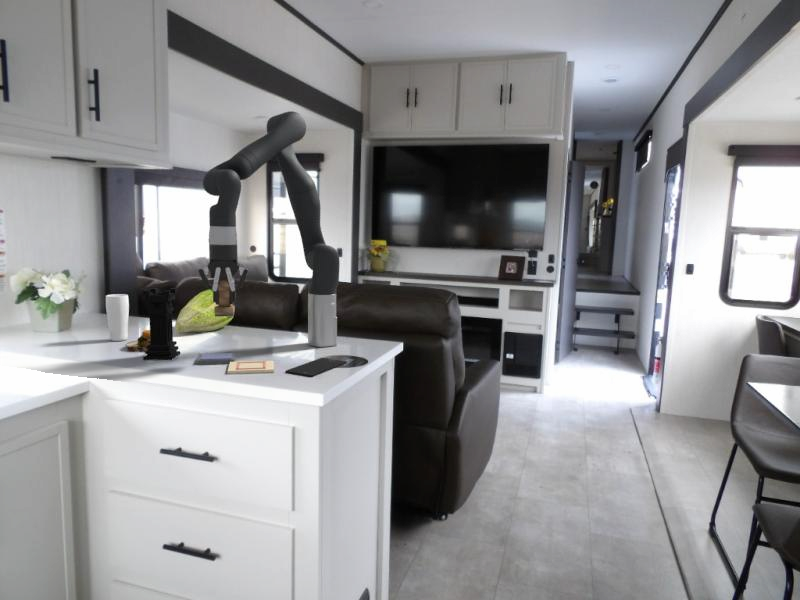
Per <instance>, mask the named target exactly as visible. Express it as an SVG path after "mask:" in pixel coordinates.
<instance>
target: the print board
mask: <svg viewBox="0 0 800 600" xmlns="http://www.w3.org/2000/svg"><path fill="white" fill-rule="evenodd" d="M274 372H275V360H253V361H252V360H249V361H248V360H246V361H244V360H243V361H235V362H230V364H228V369H227V375H232V374H233V375H236V374H238V375H239V374H261V373H262V374H265V373H266V374H267V373H274Z"/></svg>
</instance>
